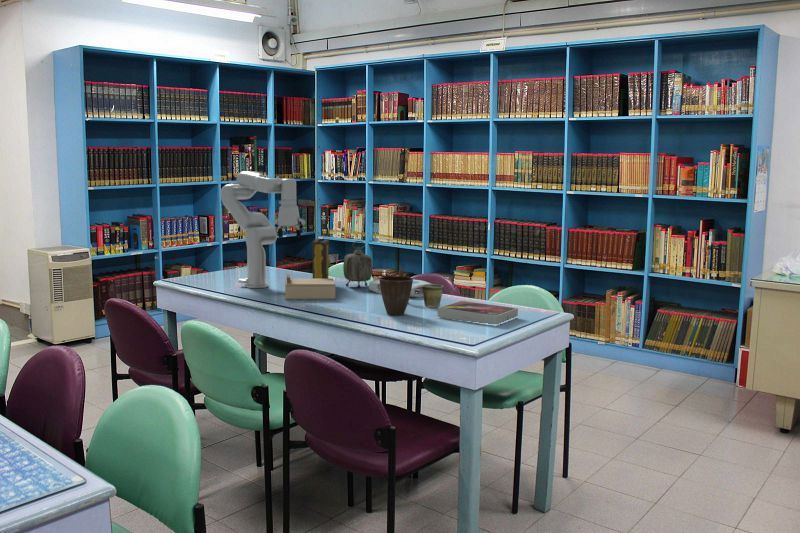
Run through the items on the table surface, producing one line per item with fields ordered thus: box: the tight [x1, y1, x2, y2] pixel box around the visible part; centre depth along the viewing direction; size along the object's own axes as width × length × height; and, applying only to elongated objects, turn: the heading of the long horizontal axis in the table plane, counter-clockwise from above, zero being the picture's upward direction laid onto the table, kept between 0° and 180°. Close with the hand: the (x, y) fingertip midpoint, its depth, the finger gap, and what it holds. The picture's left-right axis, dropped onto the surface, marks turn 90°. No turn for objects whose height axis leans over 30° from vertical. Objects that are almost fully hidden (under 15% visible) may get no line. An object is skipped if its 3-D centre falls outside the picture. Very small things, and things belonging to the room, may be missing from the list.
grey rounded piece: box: [342, 240, 373, 289], centre depth 383 cm, size 14×9×25 cm, turn 108°
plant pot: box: [378, 275, 414, 316], centre depth 314 cm, size 15×15×16 cm
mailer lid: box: [284, 273, 336, 287], centre depth 352 cm, size 24×18×4 cm
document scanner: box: [368, 278, 431, 298], centre depth 370 cm, size 21×28×6 cm
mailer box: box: [284, 285, 336, 301], centre depth 353 cm, size 24×18×7 cm
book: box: [312, 238, 332, 279], centre depth 382 cm, size 22×8×25 cm, turn 179°
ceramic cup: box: [421, 283, 444, 309], centre depth 335 cm, size 13×10×10 cm
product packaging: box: [437, 300, 519, 324], centre depth 311 cm, size 22×28×5 cm
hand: (289, 237), depth 359 cm, fingers open, 9 cm apart
